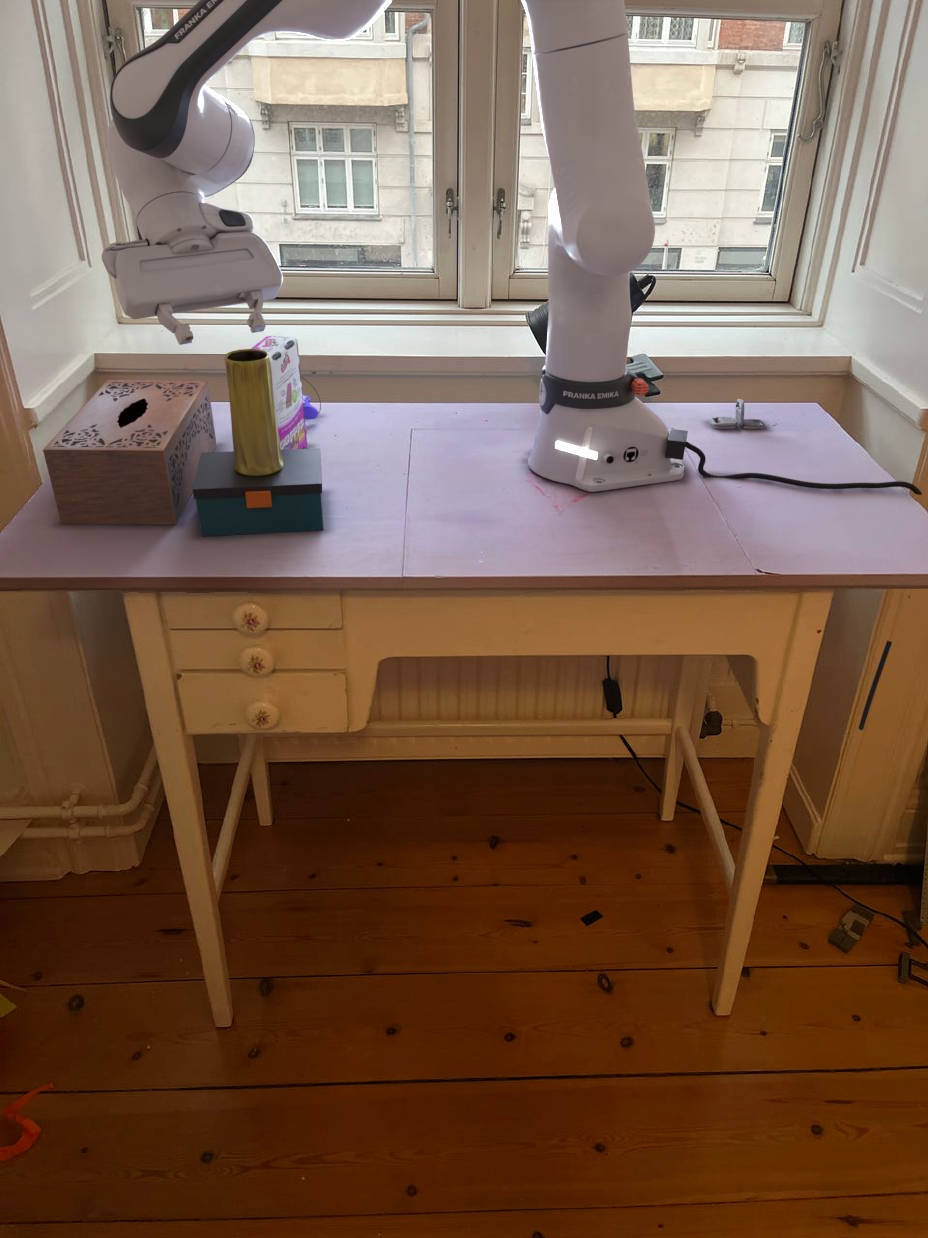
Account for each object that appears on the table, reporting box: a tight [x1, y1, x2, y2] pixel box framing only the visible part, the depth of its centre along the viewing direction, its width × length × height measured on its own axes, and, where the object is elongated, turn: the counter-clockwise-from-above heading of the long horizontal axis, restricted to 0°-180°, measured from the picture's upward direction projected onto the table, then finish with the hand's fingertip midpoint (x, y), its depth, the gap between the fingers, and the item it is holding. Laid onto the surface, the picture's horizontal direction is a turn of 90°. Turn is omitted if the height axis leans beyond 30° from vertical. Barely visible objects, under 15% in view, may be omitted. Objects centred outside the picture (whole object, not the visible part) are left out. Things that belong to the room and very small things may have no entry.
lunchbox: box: [192, 447, 324, 537], centre depth 119 cm, size 15×12×6 cm
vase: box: [224, 348, 283, 477], centre depth 113 cm, size 6×6×14 cm
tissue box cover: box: [42, 379, 218, 525], centre depth 125 cm, size 26×14×10 cm, turn 1°
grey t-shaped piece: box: [709, 398, 766, 430], centre depth 149 cm, size 8×3×4 cm, turn 94°
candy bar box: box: [250, 335, 308, 450], centre depth 131 cm, size 11×5×16 cm, turn 168°
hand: (223, 335), depth 113 cm, fingers open, 8 cm apart
